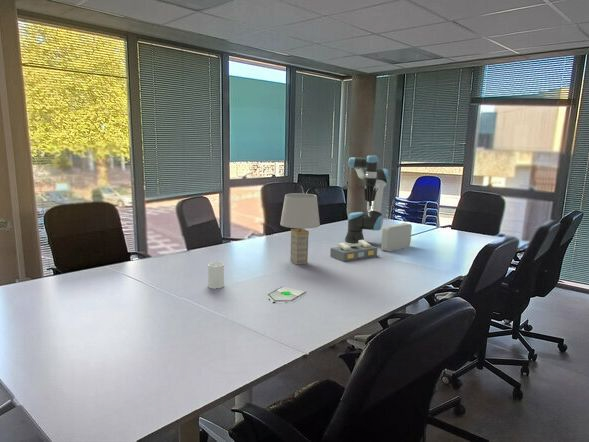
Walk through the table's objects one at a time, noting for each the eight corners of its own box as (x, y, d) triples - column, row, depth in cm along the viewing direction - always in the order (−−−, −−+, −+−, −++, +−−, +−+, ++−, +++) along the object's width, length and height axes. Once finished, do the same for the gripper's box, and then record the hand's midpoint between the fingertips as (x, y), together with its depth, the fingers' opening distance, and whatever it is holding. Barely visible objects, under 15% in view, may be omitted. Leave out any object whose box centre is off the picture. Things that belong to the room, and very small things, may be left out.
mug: (218, 280, 226) (218, 259, 224) (231, 283, 223) (231, 262, 220) (204, 287, 216) (204, 265, 214) (217, 290, 212) (217, 267, 210)
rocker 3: (358, 242, 289) (358, 240, 289) (362, 241, 292) (363, 239, 291) (365, 247, 283) (365, 245, 283) (370, 246, 286) (370, 244, 285)
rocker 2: (348, 246, 285) (348, 244, 285) (353, 246, 287) (352, 243, 287) (355, 246, 278) (355, 243, 278) (360, 245, 280) (360, 242, 280)
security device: (256, 301, 200) (256, 297, 199) (280, 288, 219) (280, 284, 218) (286, 309, 192) (286, 305, 191) (308, 295, 211) (308, 291, 210)
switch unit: (330, 256, 282) (330, 246, 281) (363, 251, 298) (363, 242, 297) (343, 261, 270) (344, 251, 269) (377, 256, 286) (377, 246, 285)
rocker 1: (337, 245, 280) (338, 242, 279) (342, 244, 282) (343, 242, 281) (345, 250, 274) (345, 248, 273) (350, 249, 276) (350, 247, 275)
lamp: (290, 270, 249) (292, 198, 241) (273, 259, 271) (274, 193, 263) (325, 265, 260) (328, 197, 252) (306, 255, 282) (308, 192, 274)
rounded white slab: (402, 244, 321) (403, 222, 318) (410, 246, 315) (412, 223, 312) (378, 249, 303) (379, 225, 300) (386, 252, 298) (388, 227, 294)
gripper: (360, 176, 296) (358, 209, 300) (373, 178, 285) (371, 212, 289) (368, 176, 300) (366, 208, 304) (381, 178, 289) (379, 211, 293)
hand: (368, 210), depth 297 cm, fingers closed
